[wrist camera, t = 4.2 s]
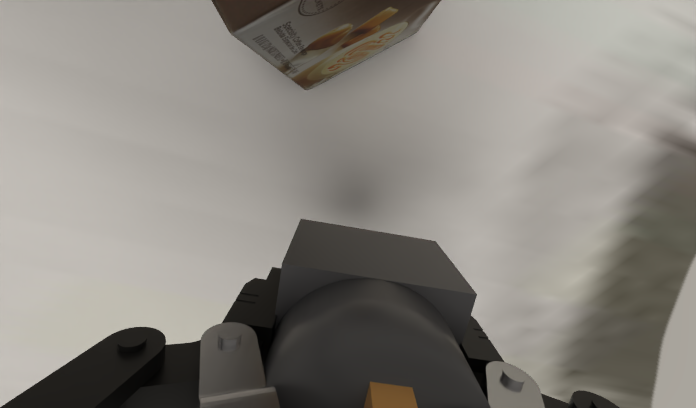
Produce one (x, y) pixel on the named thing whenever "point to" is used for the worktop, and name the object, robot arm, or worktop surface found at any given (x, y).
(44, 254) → the worktop surface
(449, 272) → the knob
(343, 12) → the coffee box
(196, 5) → the worktop surface
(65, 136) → the worktop surface
